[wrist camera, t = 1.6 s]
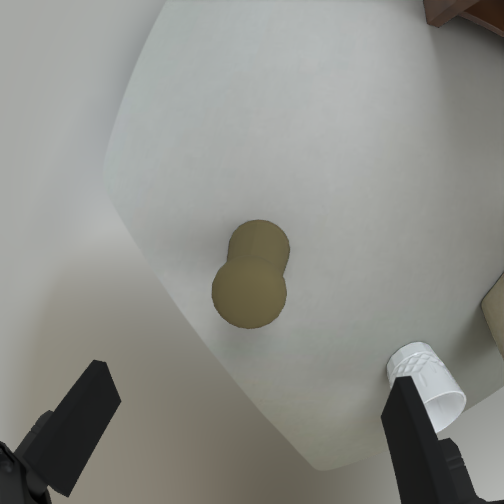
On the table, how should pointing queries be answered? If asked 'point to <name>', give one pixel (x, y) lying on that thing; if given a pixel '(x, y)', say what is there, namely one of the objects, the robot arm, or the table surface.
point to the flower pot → (495, 313)
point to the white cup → (429, 382)
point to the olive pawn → (252, 276)
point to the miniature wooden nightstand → (467, 12)
